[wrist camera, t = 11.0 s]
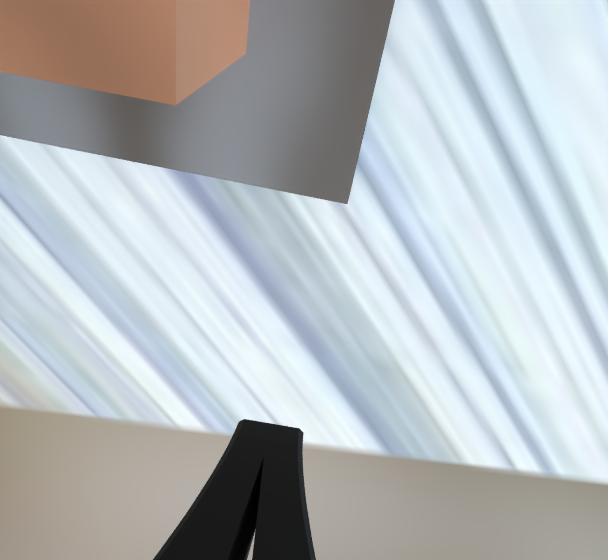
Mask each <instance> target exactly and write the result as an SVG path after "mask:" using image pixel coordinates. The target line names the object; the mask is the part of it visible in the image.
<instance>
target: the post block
mask: <svg viewBox="0 0 608 560" xmlns="http://www.w3.org/2000/svg"><path fill="white" fill-rule="evenodd" d="M394 2H395V0H250V10H249V23H248V35H247V48H246V54H245V55H243V56H242V57H241V58H239V59H238V60H237V61H235V62H234V63H233V64H231V65H230V66H229V67H227V68H226V69H224V70H223V71H222V72H220V73H219V74H218V75H216V76H215V77H214V78H212V79H211V80H210V81H208V82H207V83H206V84H204V85H203V86H202V87H200V88H199V89H197V90H196V91H195V92H193V93H192V94H191V95H189V96H188V97H187V98H185V99H184V100H183V101H181V102H180V103H179V104H177V105H176V106H175V105H170V104H165V103H160V102H155V101H149V100H144V99H139V98H134V97H128V96H123V95H118V94H113V93H108V92H102V91H97V90H92V89H87V88H82V87H76V86H71V85H66V84H61V83H56V82H50V81H45V80H40V79H35V78H30V77H24V76H19V75H14V74H9V73H3V72H0V135H3V136H8V137H13V138H18V139H23V140H28V141H33V142H38V143H43V144H48V145H53V146H58V147H63V148H68V149H73V150H78V151H83V152H88V153H93V154H98V155H103V156H108V157H113V158H118V159H123V160H128V161H133V162H138V163H143V164H148V165H153V166H158V167H163V168H169V169H174V170H179V171H184V172H189V173H194V174H199V175H204V176H209V177H214V178H219V179H224V180H229V181H234V182H239V183H244V184H249V185H254V186H259V187H264V188H269V189H274V190H279V191H284V192H289V193H294V194H299V195H304V196H309V197H314V198H319V199H324V200H329V201H334V202H340V203H345V204H347V203H348V199H349V195H350V190H351V186H352V182H353V177H354V173H355V169H356V165H357V160H358V156H359V152H360V147H361V143H362V139H363V135H364V130H365V126H366V122H367V117H368V113H369V109H370V105H371V100H372V96H373V92H374V87H375V83H376V79H377V75H378V70H379V66H380V62H381V57H382V53H383V49H384V45H385V40H386V36H387V32H388V27H389V23H390V19H391V15H392V10H393V6H394Z"/></svg>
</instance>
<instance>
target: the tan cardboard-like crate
mask: <svg viewBox="0 0 608 560" xmlns="http://www.w3.org/2000/svg"><path fill="white" fill-rule="evenodd" d="M249 10H250V0H0V72H3V73H9V74H14V75H19V76H24V77H30V78H35V79H40V80H45V81H50V82H56V83H61V84H66V85H71V86H76V87H82V88H87V89H92V90H97V91H102V92H108V93H113V94H118V95H123V96H128V97H134V98H139V99H144V100H149V101H155V102H160V103H165V104H170V105H175V106H176V105H177V104H179V103H180V102H181V101H183V100H184V99H185V98H187V97H188V96H189V95H191V94H192V93H193V92H195V91H196V90H197V89H199V88H200V87H202V86H203V85H204V84H206V83H207V82H208V81H210V80H211V79H212V78H214V77H215V76H216V75H218V74H219V73H220V72H222V71H223V70H224V69H226V68H227V67H229V66H230V65H231V64H233V63H234V62H235V61H237V60H238V59H239V58H241V57H242V56H243V55H245V54H246V48H247V35H248V23H249Z"/></svg>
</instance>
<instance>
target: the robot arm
mask: <svg viewBox="0 0 608 560" xmlns="http://www.w3.org/2000/svg"><path fill="white" fill-rule="evenodd" d="M302 446H303V432H302V431H301V430H300V429H299V428H293V427H288V426H282V425H276V424H270V423H264V422H258V421H252V420H246V419H244V420H242V421H240V422H239V423H238V425H237V428H236V430H235V432H234V434H233V436H232V439H231V441H230V443H229V445H228V447H227V448H226V450H225V452H224V454H223V456H222V457H221V459H220V461H219V463H218V464H217V466H216V468H215V470H214V471H213V473H212V475H211V476H210V478H209V480H208V481H207V483H206V484H205V486H204V487H203V489H202V490H201V492H200V494H199V495H198V497H197V498H196V500H195V501H194V503H193V504H192V506H191V507H190V509H189V510H188V512H187V513H186V515H185V516H184V518H183V519H182V520H181V522H180V523H179V525H178V526H177V527H176V529H175V530H174V532H173V533H172V534H171V536H170V537H169V538H168V540H167V541H166V543H165V544H164V545H163V547H162V548H161V550H160V551H159V552H158V554H157V555H156V556H155V558H154V559H153V560H247V558H248V554H249V551H250V547H251V543H252V539H253V536H254V532H255V540H254V549H253V558H252V560H316V558H315V553H314V548H313V542H312V537H311V530H310V524H309V518H308V511H307V504H306V496H305V487H304V476H303V458H302ZM255 529H256V530H255Z"/></svg>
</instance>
